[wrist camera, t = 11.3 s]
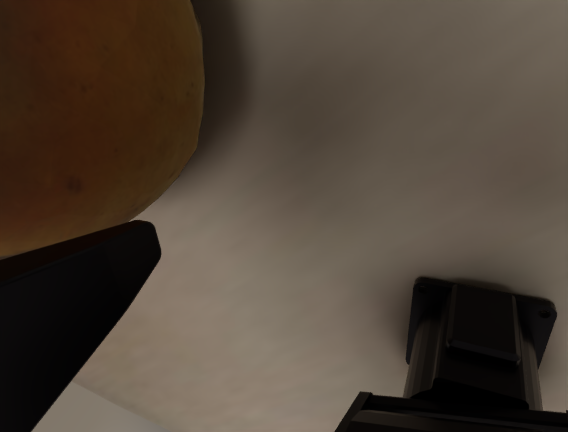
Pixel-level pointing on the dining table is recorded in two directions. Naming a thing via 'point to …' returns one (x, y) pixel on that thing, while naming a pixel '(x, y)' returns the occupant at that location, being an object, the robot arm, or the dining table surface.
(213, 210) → the dining table surface
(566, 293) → the dining table surface
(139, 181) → the ceramic pitcher
